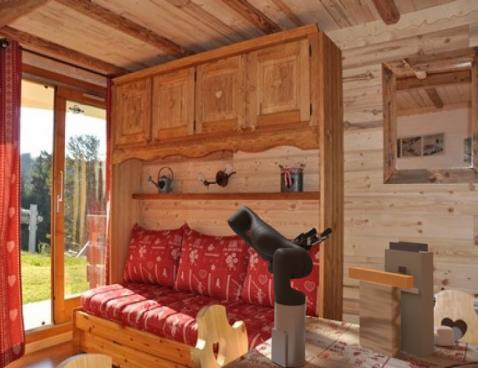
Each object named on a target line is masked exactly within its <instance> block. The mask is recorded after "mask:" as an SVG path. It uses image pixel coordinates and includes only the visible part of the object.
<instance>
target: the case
mask: <svg viewBox="0 0 478 368" xmlns="http://www.w3.org/2000/svg"><path fill="white" fill-rule="evenodd" d="M388 245H389V247H388V248H384V272H390V273H396V274H402V275H408V276H414V288H411V289H404V288H401V352H404V353H407V354H409V355H412V356H415V357H418V358H421V359H423V358H426V357H429V356H431V355H434V354H435V343H434V326H435V310H434V309H435V307H434V306H435V305H434V303H435V302H434V301H435V300H434V299H435V297H434V295H435V294H434V293H435V292H434V291H435V289H434V286H435V285H434V252H433V251H429V247H428V246H429V245H428V243H424V242H423V243H422V242H421V243H420V242H412V241H400V240H399V241H397V242H396V241H389V242H388Z"/></svg>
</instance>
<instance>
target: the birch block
mask: <svg viewBox="0 0 478 368" xmlns="http://www.w3.org/2000/svg"><path fill="white" fill-rule="evenodd" d="M358 280H359V279H358ZM358 283H359V284H358V285H359V286H358V287H359V300H358V303H359V304H358V305H359V313H358V314H359V316H358V317H359V320H358V321H359V325H358V326H359V332H358V333H359V335H358V337H359V338H358V339H359V340H358V341H359V344H358V345H359V346H360V347H362V348H365V349H369V350H371V351H374V352H376V353H379V354H381V355H385V356H387V357H390V358H393V357H396V356H400V355H402V351H401V288H399V287H394V286H389V285H384V284H379V283H374V282H369V281H364V280H359V282H358Z"/></svg>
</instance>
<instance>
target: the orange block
mask: <svg viewBox="0 0 478 368" xmlns="http://www.w3.org/2000/svg"><path fill="white" fill-rule="evenodd" d="M348 278H349V279H356V280H364V281H369V282H374V283H379V284H384V285H389V286H394V287H399V288H404V289H411V288H414V276H408V275H402V274H396V273H390V272H385V270H384V271H383V270H378V269H372V268H365V267H359V266H350V267H349V266H348Z"/></svg>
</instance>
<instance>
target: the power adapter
mask: <svg viewBox="0 0 478 368" xmlns="http://www.w3.org/2000/svg"><path fill="white" fill-rule="evenodd" d="M435 344H436V346H439V347H454V345H455V330H454V328H452V327H450V326H447V325H434V345H435Z"/></svg>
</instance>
